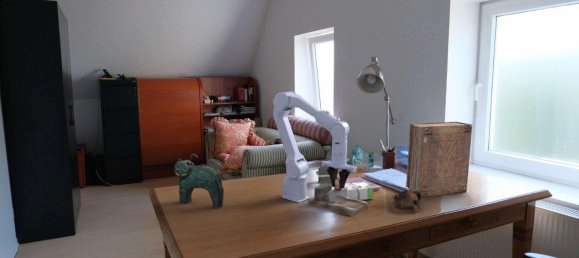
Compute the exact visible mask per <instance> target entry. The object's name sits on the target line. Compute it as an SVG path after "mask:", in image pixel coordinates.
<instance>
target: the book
mask: <svg viewBox="0 0 579 258" xmlns="http://www.w3.org/2000/svg"><path fill="white" fill-rule="evenodd" d="M472 132H473V124H470V123H465V122H459V121H446V122H445V121H443V122H420V123H418V122H417V123H410V124H409V136H408V150H407V151H408V153H407V154H408V155H407V164H406V183H405V188H406V187H408V188H409V189H410V191H411V192H412V193H413V192H415V191H419V192H420V193H421V195H422V198H426V197H433V196H440V195H449V194H450V195H451V194H459V193H465V192H467V191H468V182H469V180H468V179H469V168H470V158H471V157H470V156H471V145H472Z"/></svg>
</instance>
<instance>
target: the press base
mask: <svg viewBox="0 0 579 258" xmlns="http://www.w3.org/2000/svg"><path fill="white" fill-rule="evenodd" d="M313 188H314V194H313V196H314V197H311V198H309V199H307V204H309V205H312V206H315V207H319V208H322V209H326V210H329V211H333V212H336V213H338V214H339V213H340V214H343V215H347V216H350V217H354V216H355V215H357V214H359V213H360V212H363V211H364V210H366V209H368V208H369V202H367V201H364V200H357V199H353V198H349V197H347V200H345V201H343V202H341V203H339V204H334V203H331V202H329V199H328V198H327V193H328V192H329V191H331V190H333V187H332V184H328V183H325V184H322V185H321V184H319V185H318V186H315V187H313Z"/></svg>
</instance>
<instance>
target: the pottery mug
mask: <svg viewBox="0 0 579 258" xmlns="http://www.w3.org/2000/svg"><path fill="white" fill-rule="evenodd" d="M392 198H393V200H394V201H393V204H396V206H397V205H398V206H400V205H401V203H402V201H403V202H406V203H408V202H409V198H410V200H412V203H413V205H415V206H413V210H414V213H419V212H420V211H421V204H420V202H421V200H422V198H423V197H422V195H421V193H420V192H419V191H415V192H411V191H410V190H406V189H405V190H403V191H400V192H398V194H395V195H394V196H393V197H392Z"/></svg>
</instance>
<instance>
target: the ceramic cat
mask: <svg viewBox="0 0 579 258" xmlns="http://www.w3.org/2000/svg"><path fill="white" fill-rule="evenodd" d="M192 156H195V157H196V158H197V159H199V157H198V155H197V154H195V153H193V154H190V158H189V159H183V160H182V159H181V158H177V161H176V163H175V164H174V167H173V169H174V175H176V177H178V178H180V179H179V181H178V184H179V185H178V186H179V187H178V188H179V189H178V196H179V204H183V203H184V205H186V203H187V204H190V201H191V202H192V195H193V191H194V189H203V190H206V191H207V192H208V194H209V196H210V200H211V203H212V208H214V209H220V208H221V207H223V206H224V205H223V204H224V194H225V192H224V191H225V190H224V186H223V181H222V177H221V175H220V174H219V171H218V170H217V168H216V167H215V166H214V165H211V164H207V163H202V164H198V165H195V164H194V163H193V162H192Z"/></svg>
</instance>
